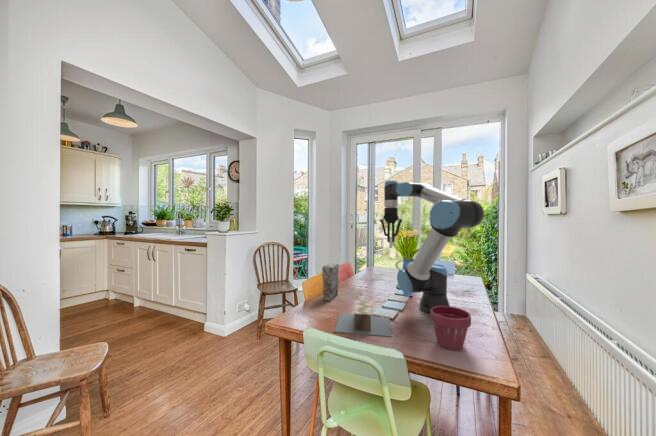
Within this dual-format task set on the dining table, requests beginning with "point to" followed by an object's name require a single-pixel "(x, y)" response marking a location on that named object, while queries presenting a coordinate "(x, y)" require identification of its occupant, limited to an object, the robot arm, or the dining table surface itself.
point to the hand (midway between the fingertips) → (390, 247)
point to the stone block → (330, 281)
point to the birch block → (363, 316)
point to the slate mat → (378, 328)
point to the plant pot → (450, 326)
